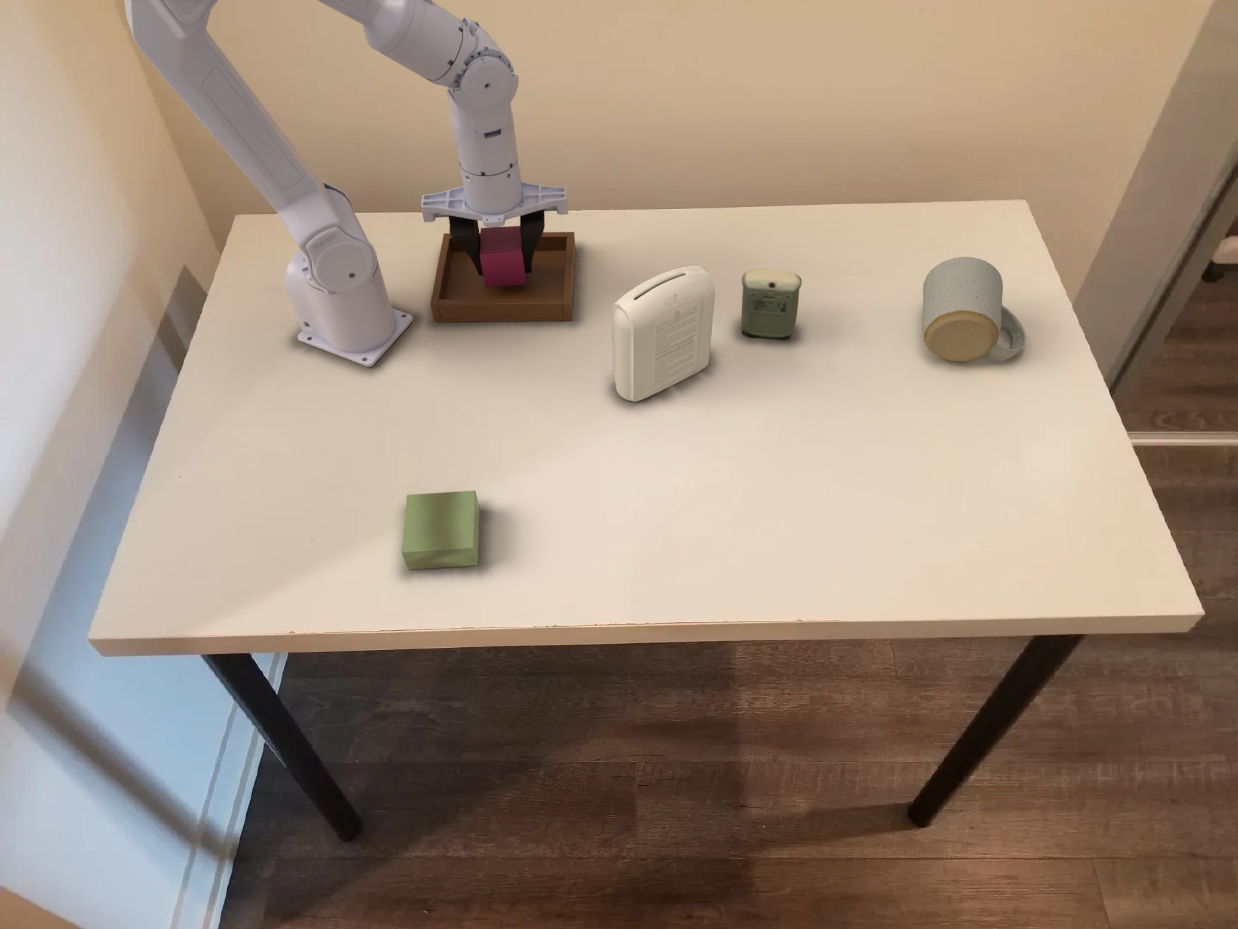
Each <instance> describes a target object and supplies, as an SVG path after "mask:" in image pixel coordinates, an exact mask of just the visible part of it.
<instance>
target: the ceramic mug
mask: <svg viewBox="0 0 1238 929" xmlns="http://www.w3.org/2000/svg"><path fill="white" fill-rule="evenodd" d="M1003 291H1004V282H1003V278H1002V275H1001V273H1000V272H999V270H998V269H997V268H996V267H995V265H993V264H992V263H990V262H988V261H986V260H983V259H982V258H976V257H972V256H961V257H960V256H959V257H953V258H949V259H946V260H944V261H942V262H940V263H938V264H936V265H935V266H934V267H933V268H932V269H930V271H929V272H928V273H927V275H926V276H925V278H924V281H923V285H922V322H921V324H922V325H921V328H922V329H921V331H922V337H923V340H924V343H925V345H926V347H927V349H928V351H930V352H931V353H932V354H933V355H934V356H936V357H938V358H940V359H943V360H946V361H950V362H957V363H958V362H970V361H974V360H977V359H980V358H982V357H984V356H985V355H986V354H988V355H990V356H992V357H995V358H998V359H1002V360H1008V359H1011V358H1013V357H1014V356H1016V355H1017V354H1018V353H1020V352H1021V351H1022V350H1023V349H1024V348H1025V345H1026V340H1027V339H1026V338H1027V336H1026V331H1025V329H1024V326H1023V325H1022V323H1021V321H1020V320H1019V318H1017V316H1016V315H1015V314H1014V313H1013V312H1011V310H1009V308H1007V307H1006V306H1004V305H1003ZM1002 325H1003V326H1004V327H1005V328H1006V330H1007V331H1008V333H1009V335H1010V336H1011V339H1012V340H1011V346H1010V348H1009V347H1006V346H1003V345H1002V344H1000V343H998V340H999V338H1000V334H1001V328H1002Z"/></svg>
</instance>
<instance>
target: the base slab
mask: <svg viewBox="0 0 1238 929" xmlns="http://www.w3.org/2000/svg"><path fill="white" fill-rule="evenodd" d="M405 502H406V503H405V513H404V524H403V534H402V544H401V555H402V558H403V560H404V562H405V565H406V568H407V570H408V571H410V570H423V569H424V570H425V569H426V570H427V569H440V568H441V569H442V568H443V569H444V568H457V567H459V568H460V567H473V566H478V565H479V545H480V543H479V542H480V518H481V516H480V514H481V513H480V512H481V508H480V504H479V499H478V496H477V491H476V490H463V491H462V490H461V491H447V492H445V491H444V492H429V493H414V494H412V493H411V494H406V500H405Z"/></svg>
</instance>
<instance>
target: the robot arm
mask: <svg viewBox="0 0 1238 929" xmlns="http://www.w3.org/2000/svg"><path fill="white" fill-rule="evenodd" d="M218 1H219V0H124V1H123V2H124V8H125V16H126V20H127V23H128V26H129V29H130V33H131V37H132V39H133V41H134V42H135V44H136V46H137V47H138V49H139V50H140V52H141V53H142V54H143V55H144V56H145V57H146V59H147V60H148V61H149V62H150V63H151V64H152V66H153V67H154V68H155V69H156V70H157V71H158V72H159V74H160V75H161V76H162V77H163V78H164V80H165V82H167V83H168V84H169V86H170V87H171V88H172V89H173V90H174V92H175V94H177V96H179V98H180V99H181V100H182V101H183V102H184V103H185V105H186V106H187V107H188V109H190V111H191V112H192V113H193V114H194V116H195V117H196V118H197V119H198V121H200V123H201V124H202V125H203V126H204V128H205V129H206V130H207V131H208V132H209V133H210V134H211V136H212V137H213V138H214V140H216V142H217V143H218V145H219V146H221V148H222V149H223V150H224V151H225V152H226V153H227V155H228V156H229V157H230V159H232V161H233V162H234V163H235V165H236V166H238V168H239V169H240V170H241V172H243V174H244V175H245V176H246V178H247V179H248V180H249V181H250V182H251V183H252V184H253V185H254V187H255V188H256V190H258V192H259V193H260V194H261V195H262V197H263V198H264V199H265V200H266V201H267V203H268V204H269V205H270V206H271V207H272V208H273V210H274V211H275V212H276V213H277V215H278V217H279V218H280V220H281V222H282V223H283V225H284V226H285V228H286V230H287V231H288V233H289V235H290V236H291V238H292V240H293V241H294V243H295V244H296V246H297V247H298V249H300V250H298V251H297V252H295V254H294V255H293V256H292V258H291V259H290V261H289V263H288V264H287V267H286V269H285V276H284V287H285V292H286V295H287V297H288V299H289V302H290V304H291V307H292V309H293V312H294V314H295V316H296V319H297V323H298V324H299V327H300V329H301V331H300V332H299V333H298V334H297V337H296V338H297V340H298V341H299V342H302V343H304V344H306V345H309V346H312V347H315V348H317V349H319V350H322V351H325V352H326V353H327V352H328V353H330V354H332V355H335V356H338V357H341V358H342V359H343V358H344V359H346V360H349V361H351V362H354V363H356V364H359V365H362V366H364V367H367V368H370V367H373V366H374V365H376V363H377V362H378V360H380V358H381V357H382V356H383V355H384V354H385V352H386V351H388V350H389V349H390V347H391V346H392V345H393V344H394V343H395V341H396V340H397V339H398V338H399V337H400V336H401V335H402V334H403V333H404V331H405V330H406V329H407V328H408V327H409V326H410V325H411V323H413V321H414V317H413V315H412V314H409V313H407V312H404V311H401V310H398V309H396V308H392V305H391V301H390V297H389V294H388V291H387V288H386V287H387V286H386V284H385V281H384V277H383V273H382V270H381V266H380V263H379V259H378V255H377V251H376V249H375V247H374V245H373V244H372V243H371V242H370V241H369V239H368V237H367V235H366V232H365V231H364V229H363V227H362V225H361V223H360V220H359V219H358V217H357V215H356V213H355V211H354V208H353V205H352V202H351V199H350V198H349V196H348V194H347V193H346V192H345V191H344V190H343V189H341V188H340V187H338V186H336V185H334V184H332V183H329V182H328V181H326V180H325V179H324V178H323V177H322V176H321V175H320V173H318V171H317V169H316V168H314V167H312V166H309V164H308V162H306V160H305V159H304V157H303V156H302V155H301V153H300V152H299V151H298V149H297V148H296V147H295V145H293V143H292V141H291V140H290V139H289V138H288V136H287V135H286V133H285V132H284V131H283V130H282V128H281V127H280V126H279V124H278V123H277V121H276V120H275V119H274V118H273V116H272V115H271V114H270V112H269V111H268V110H267V108H266V107H265V106H264V105H263V103H262V102H261V101H260V100H259V98H258V97H257V95H256V94H255V92H254V91H253V90H252V88H251V87H250V86H249V85H248V83H247V82H246V81H245V79H244V78H243V76H241V74H240V73H239V71H238V70H237V69H236V67H235V66H234V65H233V63H232V62H231V61H230V60H229V58H228V57H227V56H226V54H225V53H224V51H223V50H222V49H221V48H220V46H219V45H218V44H217V42H216V41H215V39H214V38H213V37H212V36H211V34H210V33H209V32H208V31H207V27H208V22H209V18H210V15H211V11H212V9H214V6H215V5H216V4H217V2H218ZM316 1H317V2H319V3H321V4H323V5H324V6H327V7H329V8H331V9H332V10H334V11H336V12H338V13H340V14H342V15H344V16H346V17H348V18H350V19H351V20H354V22H357V23H359V24H360V25H362V29H363V33H364V37H365V40H366V43H367V44H368V46H369V47H370V48H371V49H373V50H375V51H376V52H378V53H380V54H381V55H383V56H385V57H386V58H388V59H390V60H392V61H394V62H395V63H397V64H399V65H400V66H402V67H404V68H406V69H407V70H409V71H410V72H413V73H414V74H416V75H418V76H420V77H421V78H423V79H425V80H426V81H428V82H429V83H432V84H434V85H437V86H442V87H446V88H448V89H447V90H446V93H447V100H448V105H449V110H450V111H449V112H450V122H451V123H450V124H451V127H452V133H453V138H454V144H455V150H456V154H457V160H458V161H457V162H458V166H459V167H458V168H459V172H460V178H461V183H462V186H458V187H454V188H451V189H448V190H447V189H446V190H444V191H440V192H436V193H435V192H434V193H430V194H429V193H428V194H422V195H421V201H420V210H421V214H422V220H423V222H424V223H434V222H435V221H436V219H438V218H439V219H440V218H448V221H449V222H448V224H449V233H450V234H451V237H452V238H453V240H455V241H456V242H457V243H458V244H459V245H460V246H461V247H462V248H463V249H464V250H465V251H466V253H467V254H468V256H469V257H470V259H471V260H472V262H473V264H474V265H475V267H476V270H477V272H478V275H479V276H483V272H482V266H481V261H480V255H479V254H480V234H479V233H480V227H479V221H480V222H482V225H483V227H484V228H490V227H504V225H505V223H506V221H507V220H511V219H514V218H518V217H519V226H520V234H521V238H522V244H523V250H524V266H525V272H526V273H531V272H532V259H533V255H534V251H535V248H536V246H537V243H538V241H539V239H540V237H541V236H542V234H543V232H545V224H546V223H545V218H546V217H545V212H546V213H547V212H556V214H557V215H560V216H562V215H568V214H569V207H568V205H569V204H568V191H567V187H566V186H549V185H543V184H537V183H531V182H524V181H522V178H521V171H520V170H521V169H520V162H519V153H518V146H517V139H516V138H517V137H516V130H515V124H514V122H515V121H514V114H513V109H512V101H513V100H514V98H515V96H516V94H517V91H518V88H519V82H520V81H519V80H520V79H519V78H520V77H519V75H518V74H516V73H515V70H514V67H513V65H512V62H511V61H510V59H509V57H507V55H506V54H505V53H504V51H503V50H502V49H501V48H500V46H499V45H498V44H497V42H496V41H495V40H494V39H493V37H492V36H491V35H490V34H489V33H488V32H487V31H486V30H485V29H483V27H481V25H480V24H479V22H478V21H477V20H473V19H471V18H470V17H469V16H463V17H462V19H461V18H459V17H457V16H456V15H454V14H453V13H452V12H450V11H448V10H447V9H445V8H444V7H442V6H441V5H439V4H438V3H436V2H435V1H433V0H316Z"/></svg>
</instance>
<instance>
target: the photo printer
mask: <svg viewBox="0 0 1238 929" xmlns="http://www.w3.org/2000/svg"><path fill="white" fill-rule="evenodd" d="M715 300H716V289H715V284H714V281H713V278H712V276H711V274H710V272H709V271H706V270H705V269H704V268H703V266H702V265H689V266H683V267H678V268H674V269H671V270H668V271H666V272H662V273H660V274H658V275H656V276H654V277H651V278H650V279H648V280H645V281H643V282H642V283H639V285H637V286H635V287H634V288H632V289H630V290H629V291H628V292H626V293H625V294H624V295H622V296H621V297H620V298H619V299H617V301H616V302H615V303H614V304H613V306H612V308H611V330H612V331H611V332H612V333H611V334H612V336H611V337H612V338H611V339H612V370H613V371H612V372H613V380H614V382H615V389H616V392H617V394H618V395H619V396H620V397H621V398H622V399H624V400H626V401H628V402H631V401H632V402H634V403H635V402H639V401H642V400H645V399H647V398H649V397H651V396H654V395H655V394H657V393H660V392H662V391H663V390H666V389H668V388H670V387H672V386H674V385H675V384H678V383H679V382H681V381H683V380H686V379H687V378H689V377H692V376H694V375H695V374H697V373H698V372H700V371H702V370H703V369H705V368H706V367H707V366H708V365H709V363H710V357H711V356H710V355H711V344H712V332H713V320H714V310H715Z"/></svg>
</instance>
